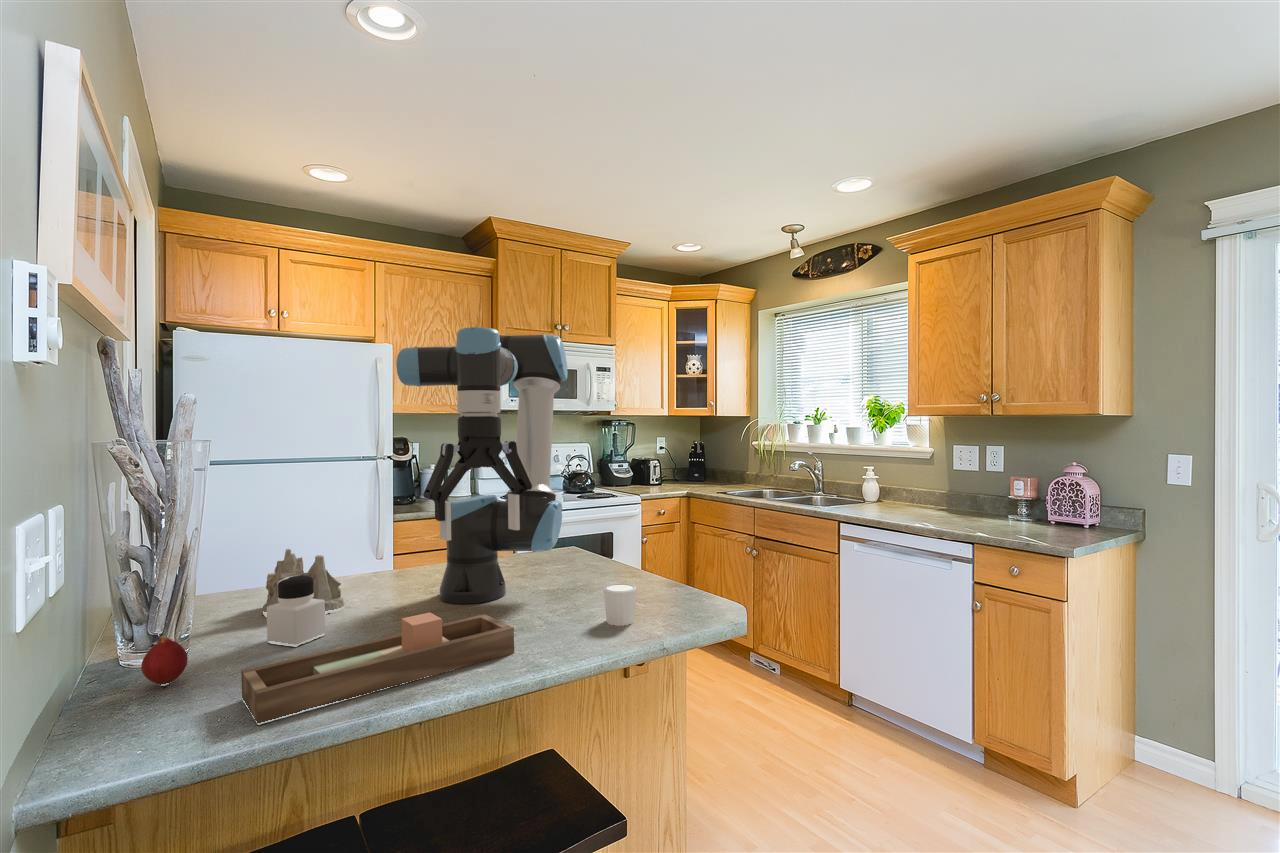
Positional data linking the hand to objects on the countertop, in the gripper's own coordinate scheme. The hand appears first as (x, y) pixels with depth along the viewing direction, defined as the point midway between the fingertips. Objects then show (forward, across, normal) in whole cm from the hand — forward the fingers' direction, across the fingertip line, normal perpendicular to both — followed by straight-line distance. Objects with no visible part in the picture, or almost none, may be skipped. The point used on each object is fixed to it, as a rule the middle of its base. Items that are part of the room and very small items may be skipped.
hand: (481, 534), depth 115 cm
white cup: (+21, +29, -5) cm, 36 cm away
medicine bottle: (+21, -22, +31) cm, 44 cm away
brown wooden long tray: (+21, -16, +2) cm, 27 cm away
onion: (+21, -43, +23) cm, 53 cm away
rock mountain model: (+22, -15, +52) cm, 58 cm away
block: (+18, -10, +2) cm, 21 cm away
